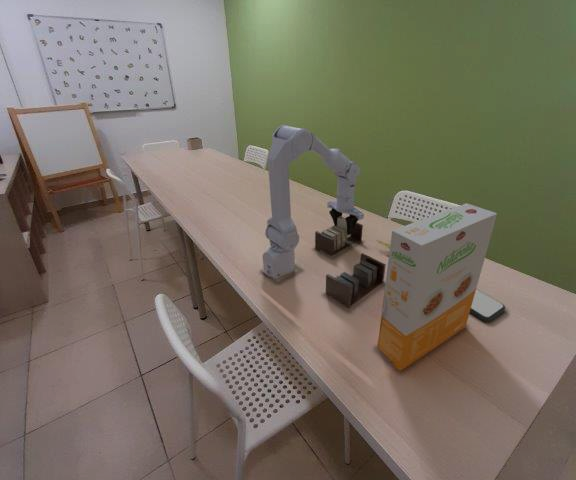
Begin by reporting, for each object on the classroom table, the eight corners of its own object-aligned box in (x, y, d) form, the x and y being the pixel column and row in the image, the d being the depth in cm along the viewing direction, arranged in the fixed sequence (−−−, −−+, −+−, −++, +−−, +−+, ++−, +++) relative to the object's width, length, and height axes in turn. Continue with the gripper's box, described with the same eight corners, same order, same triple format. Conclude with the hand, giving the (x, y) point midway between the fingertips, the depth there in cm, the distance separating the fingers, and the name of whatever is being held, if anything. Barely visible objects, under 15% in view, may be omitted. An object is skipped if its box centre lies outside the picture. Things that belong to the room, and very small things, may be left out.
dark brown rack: (331, 258, 100) (332, 239, 97) (314, 249, 105) (315, 231, 102) (361, 241, 109) (363, 224, 106) (344, 234, 114) (345, 217, 112)
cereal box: (441, 311, 76) (466, 203, 64) (465, 327, 71) (497, 213, 59) (377, 349, 66) (392, 230, 54) (399, 371, 61) (421, 245, 49)
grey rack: (347, 311, 77) (349, 289, 75) (325, 295, 83) (325, 275, 80) (383, 284, 87) (386, 264, 84) (360, 272, 92) (362, 252, 90)
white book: (347, 238, 105) (348, 222, 102) (336, 233, 108) (337, 217, 106) (350, 236, 106) (351, 220, 103) (339, 231, 109) (340, 216, 107)
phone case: (506, 310, 76) (448, 276, 89) (507, 306, 76) (449, 272, 88) (486, 324, 72) (428, 287, 85) (487, 320, 72) (429, 282, 84)
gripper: (370, 198, 98) (367, 234, 104) (337, 187, 108) (335, 220, 114) (357, 204, 94) (354, 241, 99) (323, 192, 104) (322, 226, 110)
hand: (343, 231), depth 106 cm, fingers closed on white book, 5 cm apart
